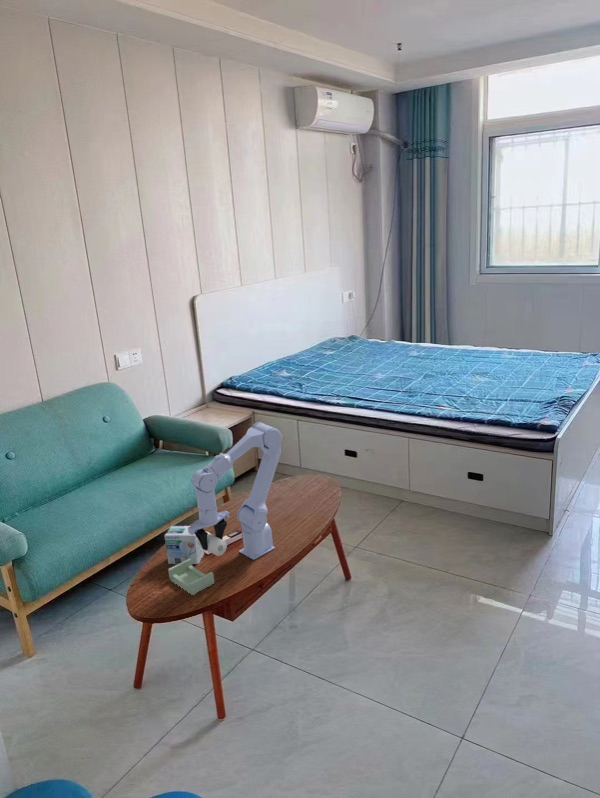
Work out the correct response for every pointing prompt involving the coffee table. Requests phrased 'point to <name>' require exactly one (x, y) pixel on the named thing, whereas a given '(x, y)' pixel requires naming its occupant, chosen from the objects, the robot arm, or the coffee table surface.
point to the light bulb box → (182, 545)
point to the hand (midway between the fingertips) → (212, 545)
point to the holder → (190, 577)
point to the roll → (215, 545)
